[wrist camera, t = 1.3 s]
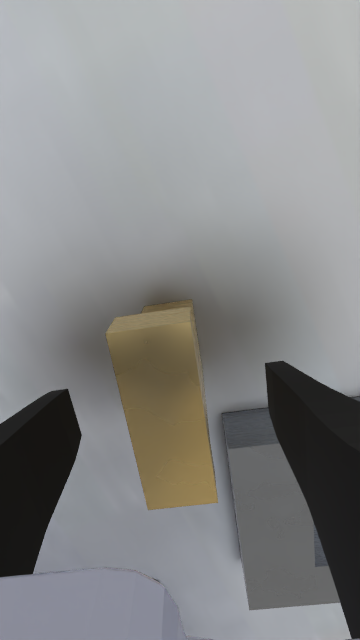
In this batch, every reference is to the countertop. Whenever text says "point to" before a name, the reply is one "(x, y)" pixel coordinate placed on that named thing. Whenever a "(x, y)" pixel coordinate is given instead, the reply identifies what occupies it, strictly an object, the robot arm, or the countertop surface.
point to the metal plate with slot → (273, 519)
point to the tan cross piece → (165, 403)
